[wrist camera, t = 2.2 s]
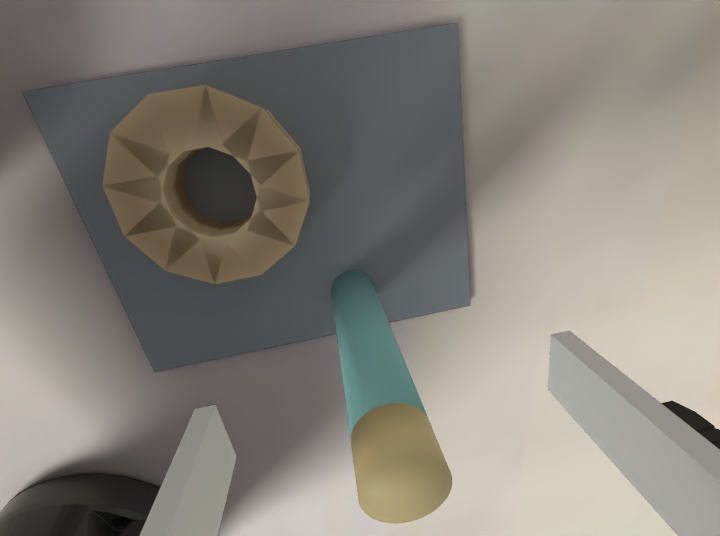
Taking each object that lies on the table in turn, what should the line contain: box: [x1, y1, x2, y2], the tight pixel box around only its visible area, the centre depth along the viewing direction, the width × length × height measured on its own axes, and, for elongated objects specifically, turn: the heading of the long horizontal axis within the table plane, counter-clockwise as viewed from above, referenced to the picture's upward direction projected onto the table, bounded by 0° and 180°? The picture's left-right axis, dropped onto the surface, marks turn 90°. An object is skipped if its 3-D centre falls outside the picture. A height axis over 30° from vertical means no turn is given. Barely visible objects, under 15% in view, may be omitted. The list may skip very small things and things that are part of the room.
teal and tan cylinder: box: [331, 271, 452, 523], centre depth 17 cm, size 3×3×14 cm
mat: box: [22, 23, 470, 372], centre depth 21 cm, size 22×17×1 cm
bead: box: [102, 85, 310, 284], centre depth 18 cm, size 9×9×3 cm
